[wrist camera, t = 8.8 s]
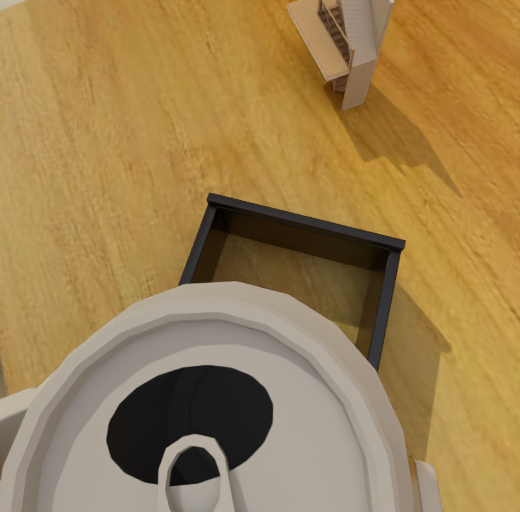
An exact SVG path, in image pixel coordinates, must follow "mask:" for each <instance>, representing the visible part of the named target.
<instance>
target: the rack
mask: <svg viewBox="0 0 520 512" xmlns="http://www.w3.org/2000/svg"><path fill="white" fill-rule="evenodd" d="M206 200H207V202H208V206H207V209H206V211H205V214H204V217H203V220H202V222H201V225H200V228H199V230H198V233H197V236H196V239H195V241H194V244H193V247H192V250H191V252H190V255H189V258H188V260H187V263H186V266H185V269H184V271H183V274H182V277H181V280H180V282H179V285H178V286H181V285H183V284H197V283H211V281H212V278H213V275H214V272H215V269H216V266H217V263H218V261H219V258H220V255H221V252H222V249H223V246H224V243H225V240H226V237H227V234H228V233H229V234H233V235H237V236H241V237H245V238H249V239H252V240H256V241H260V242H264V243H268V244H272V245H276V246H280V247H283V248H287V249H291V250H295V251H299V252H303V253H307V254H310V255H314V256H318V257H322V258H326V259H330V260H334V261H337V262H341V263H345V264H349V265H353V266H357V267H361V268H364V269H368V270H372V271H371V276H370V281H369V285H368V290H367V295H366V299H365V304H364V308H363V313H362V318H361V322H360V327H359V332H358V336H357V341H356V346H355V347H356V348H357V349H358V350H359V352H360V353H361V354H362V355H363V356H364V357H365V358H366V360H367V361H368V362H369V363H370V364H371V365H372V367H373V368H374V369H375V370H376V372H377V374H378V369H379V363H380V358H381V353H382V348H383V343H384V338H385V332H386V327H387V322H388V317H389V312H390V307H391V301H392V296H393V291H394V286H395V281H396V276H397V271H398V265H399V260H400V255H401V252H402V250H403V249H404V248H405V242H406V241H405V240H402V239H397V238H393V237H389V236H385V235H381V234H377V233H373V232H369V231H365V230H361V229H357V228H352V227H348V226H344V225H340V224H336V223H332V222H328V221H324V220H320V219H316V218H312V217H307V216H303V215H299V214H295V213H291V212H287V211H283V210H279V209H275V208H271V207H267V206H262V205H258V204H254V203H250V202H246V201H242V200H238V199H234V198H230V197H226V196H222V195H217V194H213V193H209V194H208V197H207V199H206Z"/></svg>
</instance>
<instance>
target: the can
mask: <svg viewBox="0 0 520 512" xmlns="http://www.w3.org/2000/svg"><path fill="white" fill-rule="evenodd" d="M125 398H126V399H125ZM124 399H125V401H124V404H123V406H122V408H121V409H120V410H119V412H118V413H117V415H116V416H114V417H112V416H113V414H114V412H115V411H116V409H117V407H118V405H119V404H120V403H121V402H122V401H123V400H124ZM111 417H112V418H111ZM413 508H414V497H413V491H412V484H411V478H410V471H409V464H408V458H407V451H406V445H405V438H404V431H403V429H402V427H401V424H400V422H399V420H398V418H397V416H396V413H395V411H394V409H393V407H392V405H391V403H390V400H389V398H388V396H387V394H386V392H385V389H384V387H383V385H382V383H381V381H380V378H379V376H378V374H377V372H376V370H375V369H374V368H373V367H372V365H371V364H370V363H369V362H368V361H367V360H366V358H365V357H364V356H363V355H362V354H361V353H360V352H359V350H358V349H357V348H356V347H355V346H354V345H353V343H352V342H351V341H350V340H349V339H348V338H347V336H346V335H345V334H344V333H343V332H342V331H341V330H340V328H339V327H338V326H337V325H336V324H335V323H333V322H331V321H330V320H328V319H327V318H325V317H323V316H322V315H320V314H319V313H317V312H316V311H314V310H312V309H311V308H309V307H308V306H306V305H304V304H303V303H301V302H300V301H298V300H296V299H295V298H293V297H292V296H290V295H288V294H285V293H281V292H277V291H273V290H269V289H265V288H261V287H257V286H253V285H250V284H246V283H242V282H238V281H231V282H214V283H197V284H183V285H181V286H178V287H176V288H173V289H170V290H168V291H165V292H162V293H160V294H157V295H154V296H152V297H149V298H146V299H144V300H141V301H138V302H136V303H133V304H132V305H131V306H129V307H128V308H127V309H125V310H124V311H123V312H121V313H120V314H119V315H117V316H116V317H115V318H113V319H112V320H111V321H109V322H108V323H107V324H106V325H104V326H103V327H102V328H100V329H99V330H98V331H96V332H95V333H94V334H92V335H91V336H90V337H88V339H87V340H86V341H85V342H84V343H82V344H81V345H80V346H78V347H77V348H76V349H74V350H73V351H72V352H70V353H69V354H68V356H67V357H66V358H65V359H64V361H63V362H62V363H61V365H60V366H59V367H58V368H57V370H56V371H55V372H54V374H53V375H52V376H51V377H50V379H49V380H48V381H47V383H46V384H45V385H44V386H43V388H42V389H41V390H40V392H39V393H38V394H37V396H36V397H35V398H34V399H33V401H32V402H31V403H30V405H29V407H28V410H27V412H26V414H25V417H24V419H23V421H22V424H21V426H20V428H19V431H18V433H17V435H16V438H15V440H14V442H13V445H12V447H11V449H10V452H9V454H8V456H7V459H6V461H5V463H4V466H3V470H2V476H1V483H0V512H413Z"/></svg>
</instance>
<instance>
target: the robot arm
mask: <svg viewBox="0 0 520 512" xmlns="http://www.w3.org/2000/svg"><path fill="white" fill-rule="evenodd" d="M56 370H57V369H56ZM56 370H55V371H56ZM55 371H54V372H55ZM54 372H53V373H52V374H51V375H50V376H49V377H48V378H47V379H46V380H45V381H44V382H42V383H41V384H40V385H39V386H38V387H37V388H35V387H30V388H27V389H25V390H22V391H20V392H17V393H15V394H12V395H9V396H7V397H4V398H2V399H0V480H1V476H2V470H3V466H4V463H5V461H6V459H7V456H8V454H9V452H10V449H11V447H12V445H13V442H14V440H15V438H16V435H17V433H18V431H19V428H20V426H21V424H22V421H23V419H24V417H25V414H26V412H27V410H28V407H29V405H30V403H31V402H32V401H33V399H34V398H35V397H36V396H37V394H38V393H39V392H40V390H41V389H42V388H43V386H44V385H45V384H46V383H47V381H48V380H49V379H50V377H51V376H52V375H53V374H54ZM125 399H126V398H125ZM125 399H124V400H123V401H122V402H121V403H120V404H119V405H118V407H117V409H116V411H115V412H114V414H113V416H112V417H114V416H116V415H117V413H118V412H119V410H120V409H121V408H122V406H123V404H124V401H125ZM112 417H111V418H112ZM407 458H408V464H409V471H410V478H411V484H412V491H413V497H414V508H413V512H443V507H442V502H441V497H440V492H439V486H438V481H437V476H436V471H435V468H434V466H433V465H432V464H429V463H426V462H423V461H420V460H417V459H414V458H411V457H409V456H407Z"/></svg>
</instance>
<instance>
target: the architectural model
mask: <svg viewBox="0 0 520 512" xmlns="http://www.w3.org/2000/svg"><path fill="white" fill-rule="evenodd" d="M394 3H395V2H394V0H336V1H335V0H298V1H295V2H292V3H289V4H287V10H288V12H289V14H290V16H291V18H292V20H293V21H294V23H295V25H296V27H297V29H298V30H299V32H300V34H301V36H302V38H303V40H304V41H305V43H306V45H307V47H308V49H309V50H310V52H311V54H312V56H313V58H314V60H315V61H316V63H317V65H318V67H319V69H320V70H321V72H322V74H323V76H324V78H325V79H326V81H329V80H332V82H333V87H334V89H333V92H336V91H338V92H344V93H345V94H344V99H343V103H342V108H341V109H342V111H344V110H347V109H350V108H352V107H355V106H358V105H361V104H364V101H365V99H366V95H367V92H368V89H369V85H370V82H371V79H372V76H373V72H374V69H375V66H376V62H377V59H378V56H379V52H380V49H381V46H382V43H383V39H384V36H385V33H386V29H387V26H388V23H389V19H390V16H391V13H392V9H393V6H394Z"/></svg>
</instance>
